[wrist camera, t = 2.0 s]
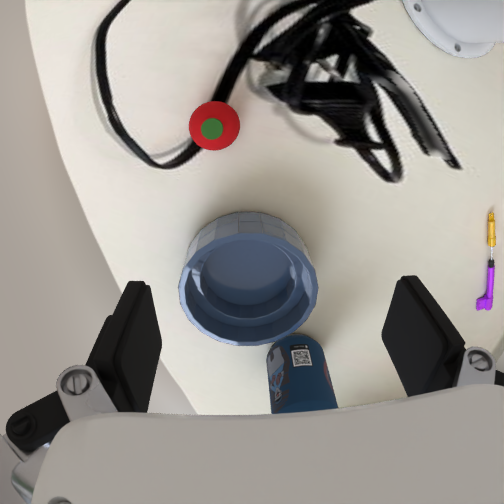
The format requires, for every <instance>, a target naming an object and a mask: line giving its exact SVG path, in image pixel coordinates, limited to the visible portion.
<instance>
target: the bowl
mask: <svg viewBox="0 0 504 504" xmlns="http://www.w3.org/2000/svg"><path fill="white" fill-rule="evenodd" d="M178 289H179V297H180V304H181V306H182V308H183V310H184V312H185V314H186V316H187V318H188V319H189V321H190V322H191V323H192V324H193V325H194V326H196V327H197V328H198V329H199V330H200V331H201V332H202V333H204V334H206V335H207V336H209V337H211V338H213V339H215V340H217V341H220V342H224V343H228V344H232V345H236V346H258V345H262V344H267V343H271V342H275V341H277V340H279V339H281V338H283V337H285V336H287V335H289V334H291V333H293V332H294V331H295V330H296V329H297V328H299V327H300V326H301V325H302V324H303V323H304V322H305V321H306V320H307V319H308V317H309V315H310V313H311V312H312V310H313V308H314V307H315V304H316V299H317V294H318V282H317V277H316V272H315V269H314V266H313V264H312V261H311V258H310V256H309V253H308V250H307V248H306V245H305V244H304V242H303V241H302V239H301V238H300V236H299V235H298V233H297V232H296V231H295V230H294V229H293V228H292V227H290V226H289V225H288V224H286V223H285V222H284V221H282V220H281V219H279V218H276V217H273V216H270V215H267V214H264V213H261V212H236V213H233V214H229V215H226V216H223V217H219V218H217V219H216V220H214V221H213V222H211V223H210V224H208V225H207V226H205V227H204V228H202V229H201V230H200V232H199V233H198V234H197V236H196V237H195V238H194V240H193V241H192V242H191V244H190V246H189V250H188V253H187V256H186V260H185V263H184V267H183V271H182V274H181V278H180V281H179V285H178Z"/></svg>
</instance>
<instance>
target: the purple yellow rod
mask: <svg viewBox="0 0 504 504" xmlns="http://www.w3.org/2000/svg"><path fill="white" fill-rule="evenodd" d="M491 215H492V216H491ZM495 245H496V236H495V220H494V213H493V212H492V213H489V219H488V246H490V247H491V259H490V260H489V265H488V280H487V294H485V295H484V298H480V299H477V306H476V309H477V310H481V309H484V308H485V310H490V309H491V308H492V303H493V285H494V269H495V265H494V260H493V259H492V251H493V247H494V246H495Z"/></svg>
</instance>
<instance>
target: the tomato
mask: <svg viewBox="0 0 504 504" xmlns="http://www.w3.org/2000/svg"><path fill="white" fill-rule="evenodd" d="M239 130H240V121H239V117H238V115H237V113H236V112H235V110H234V109H233V108H232V107H231V106H229V105H228V104H226V103H223V102H219V101H211V102H207V103H204V104H202V105H201V106H199V107H198V108H197V109H196V110H195V111H194V112H193V114H192V116H191V118H190V121H189V131H190V135H191V137H192V139H193V140H194V142H195V143H196V144H197V145H199V146H200V147H202V148H204V149H207V150H221V149H224V148H226V147H228V146H229V145H231V144H232V143H233V142H234V140H235V139H236V138H237V136H238V133H239Z"/></svg>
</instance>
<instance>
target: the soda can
mask: <svg viewBox="0 0 504 504" xmlns="http://www.w3.org/2000/svg"><path fill="white" fill-rule="evenodd" d="M266 361H267V371H268V382H269V392H270V403H271V413H272V414H282V413H297V412H309V411H319V410H329V409H337V408H338V405H337V402H336V398H335V394H334V390H333V386H332V382H331V378H330V375H329V371H328V367H327V363H326V360H325V356H324V352H323V349H322V347H321V346H320V344H319V343H318V342H316V341H315V340H313V339H312V338H310V337H308V336H306V335H302V334H293V335H288V336H285V337H283V338H281V339H279V340H278V341H277V342H276V343H275V344H274V345H273V346H272V348H271V349H270V351H269V352H268V355H267V359H266Z"/></svg>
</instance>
